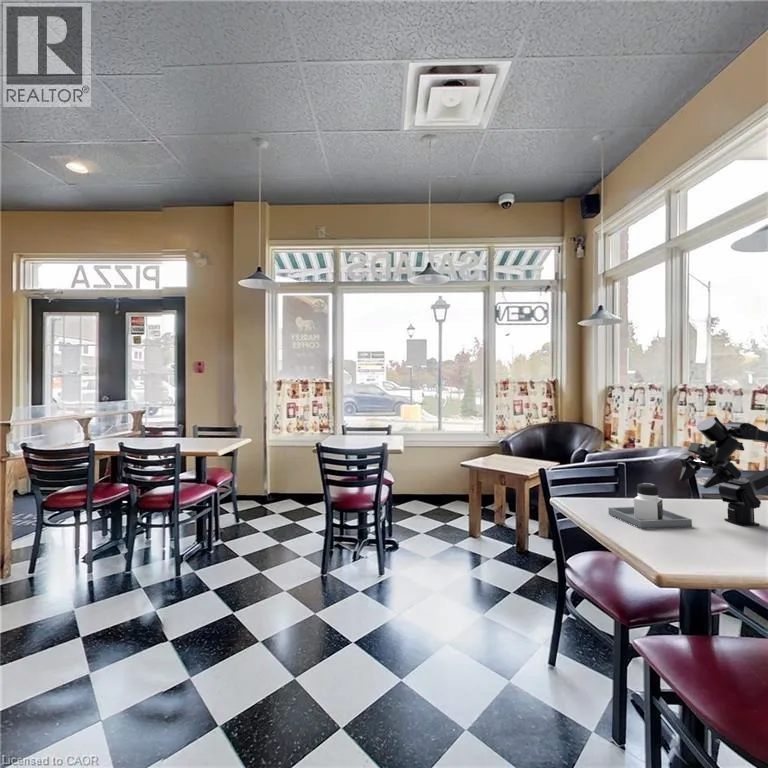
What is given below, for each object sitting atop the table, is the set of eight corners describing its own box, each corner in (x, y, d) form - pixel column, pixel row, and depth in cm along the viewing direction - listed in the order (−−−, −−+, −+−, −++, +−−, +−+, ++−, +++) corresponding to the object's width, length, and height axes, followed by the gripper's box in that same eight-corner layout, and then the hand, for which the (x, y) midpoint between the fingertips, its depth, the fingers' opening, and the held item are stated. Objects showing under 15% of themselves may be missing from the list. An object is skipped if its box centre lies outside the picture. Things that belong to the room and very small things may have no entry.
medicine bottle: (658, 523, 130) (657, 487, 130) (634, 518, 135) (632, 484, 135) (663, 518, 135) (661, 484, 135) (639, 514, 140) (638, 481, 140)
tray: (654, 512, 143) (654, 506, 143) (692, 527, 127) (691, 519, 127) (608, 514, 142) (608, 507, 142) (640, 529, 126) (640, 521, 126)
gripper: (681, 432, 140) (654, 463, 139) (731, 437, 122) (700, 473, 121) (702, 453, 141) (675, 484, 140) (755, 461, 122) (724, 497, 121)
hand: (692, 484), depth 130 cm, fingers open, 9 cm apart
